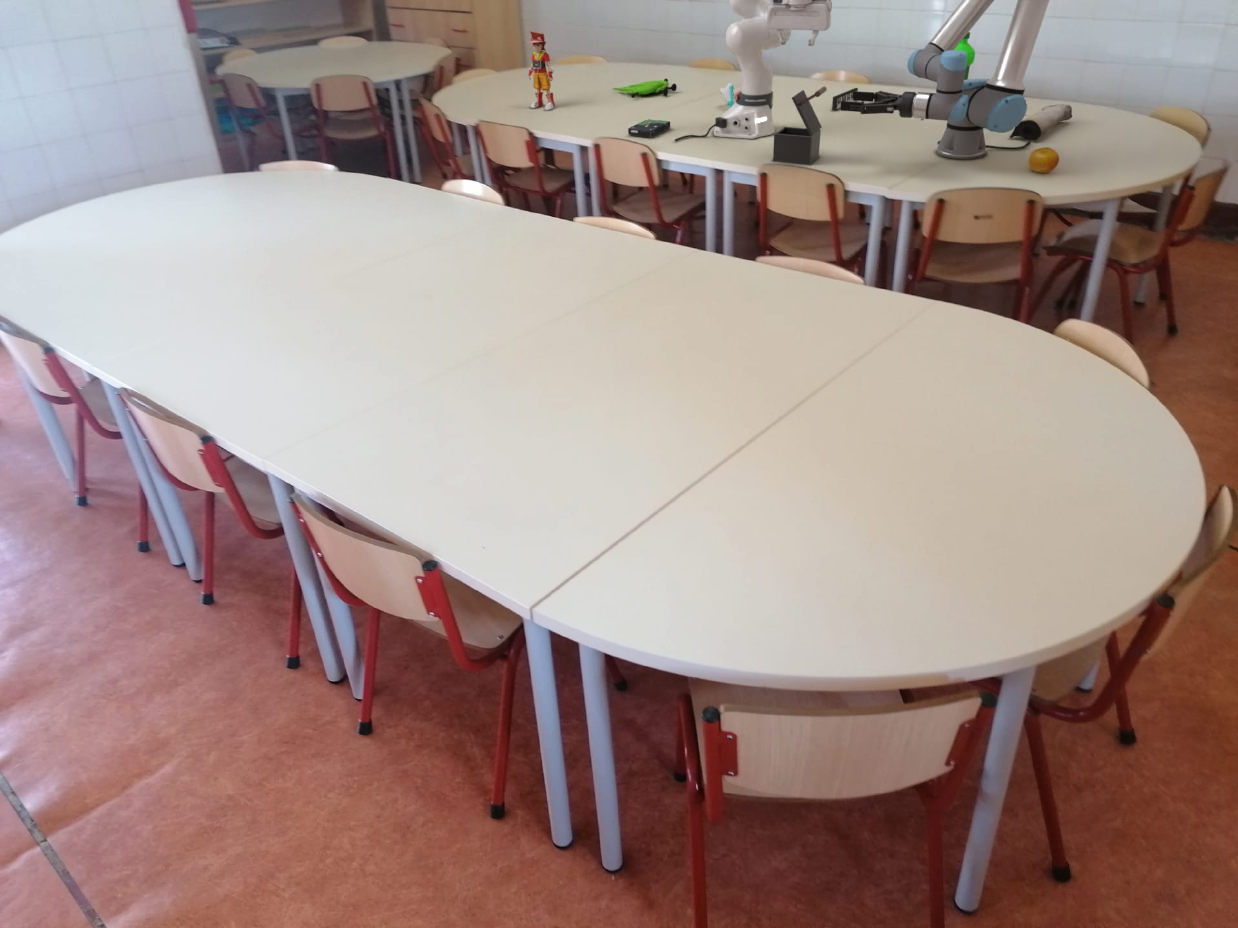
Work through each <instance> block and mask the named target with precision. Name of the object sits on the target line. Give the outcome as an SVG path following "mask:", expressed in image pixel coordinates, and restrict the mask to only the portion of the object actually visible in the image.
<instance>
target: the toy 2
mask: <svg viewBox="0 0 1238 928" xmlns="http://www.w3.org/2000/svg"><path fill="white" fill-rule="evenodd" d="M669 85H670V83H669V79H668V78H664V79H663V80H649V81H644V82H640V83H634V84H629V85H627V86H621V87H613V88H612V89H613V90H616V91H619V92H623V93H627V94H628V93H629V94H631V95H630V96H631V98H632V99H634V98H636V96H637V95H650V94H652V93H654V94H658V93H662V95H663V96H665V97H667V96H668V95H669V90H671V91H672V92H676V91H677V84H676V83H672V84H671V86H669Z"/></svg>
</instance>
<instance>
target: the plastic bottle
mask: <svg viewBox="0 0 1238 928" xmlns="http://www.w3.org/2000/svg"><path fill="white" fill-rule="evenodd" d="M970 36H971V32H970V31H969V32H968V33H967V35H966V36H965V37H964V38H963V39H962V41H961V42H960V43H959V44H958V46H957V47H956V48H955V49H954V50H958V51H964V52H966V53H967V63H966V65H967V67H966V71H965V77H964V80H968V79H969V73H970V67H971V65H972V64H973V63H974V61H975V57H976V51H975V49H974V47H972V45H971V44H970V43H969V42H968V41H969V39H970V38H971V37H970Z"/></svg>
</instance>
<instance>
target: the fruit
mask: <svg viewBox="0 0 1238 928" xmlns="http://www.w3.org/2000/svg"><path fill="white" fill-rule="evenodd" d="M1059 162H1060V156H1059V153H1058V152H1057V151H1056V150H1055V149H1053V148H1052V147H1039V148H1036V149H1034V150H1033V151H1032V152H1031V153H1030V155H1029V157H1028V163H1027V164H1028V167H1029V169H1030V170H1031V171H1032V172H1035V173H1038V174H1040V173H1041V174H1048V173H1051V171H1054V170H1055V168H1057V166H1058V164H1059Z"/></svg>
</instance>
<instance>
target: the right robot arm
mask: <svg viewBox="0 0 1238 928" xmlns="http://www.w3.org/2000/svg"><path fill="white" fill-rule="evenodd" d="M994 1H995V0H961V2H960V3H959V4H958V5H957V7H956V8H955V9H954V10H953V11H952V13H951V14H950V15H949V17H947V19H946V21H945V22H944V23H943V24H942V25H941V27H940V28H939V29H938V30H937V32H936V33H935V34H934V36H933V37H932V38H931V39H930V40H929V42H928V43H927V44H926V45H925V47H924V48H923V49H922V48H921V49H917V50H915V51H913V52H912V53H911V54H910V55H909V57H908V59H907V63H906V65H907V70H908V73H910V74H911V75H913V76H915V77H916V78H919V79H925V80H929V81H931V82H934V83H936V89H935V92H925V91H918V92H916V91H903V93H902V94H898V93H892V92H887V91H883V90H878V91H875V92H873V91H860V90H859V91H854V94H853V101H855V102H849V101H841V107H840V108H839V111H842V112H856V113H860V115H874V114H876V115H877V114H891V115H892V114H894V112H895V111H898V116H899V117H900V118H904V119H905V118H906V119H911V118H914V119H920V121H924V120H934V121H935V120H936V121H946V127H945V130H944V133H943V134H942V136H941V139H939V140H938V141H937V143H936V144H937V149H936V153H937V154H938V155H939V156H940V157H943V158H947V159H953V160H974V159H980V158H982V157H984V156H985V155H986V150H987V149H995V150H1010V151H1011V150H1013V151H1015V150H1022V149H1025V148H1027V147H1028V146H1029V145H1031V142H1032V141H1028V142H1026V144H1024V145H1021V146H1014V147H1013V146H998V145H997V146H996V145H988V144H986V139H985V132H984V129H986V130H988V131H990V132H993V133H998V134H1004V133H1008V132H1010V131H1013V130H1014V128H1015V127H1016V126H1018V124H1019V123H1020V122H1021V121H1023V120H1024V119H1025V118H1024V117H1025V116H1026V113H1027V111H1028V109H1027V108H1028V103H1027V100H1026V98H1025V97H1024V94H1025V91H1026V87H1025V85H1024V82H1023V80H1024V77H1025V75H1026V72H1027V69H1028V66H1029V63H1030V60H1031V56H1032V53H1033V51H1034V48H1035V45H1036V42H1037V39H1038V36H1039V33H1040V29H1041V26H1042V24H1043V21H1044V18H1045V16H1046V12H1047V9H1048V6H1049V4H1050V0H1017V2H1016V5H1015V8H1014V10H1013V14H1012V17H1011V21H1010V24H1009V27H1008V30H1007V33H1006V36H1005V40H1004V43H1003V45H1002V49H1001V51H1000V54H999V58H998V62H997V65H996V67H995V71H994V74H993V76H992V77H991V78H968V80H964V77H965V71H966V67H967V65H966V63H967V53H966V52H964V51H958V50H954V49H955V48H956V47H957V46H958V44H959V43H960V42H961V41H962V39H963V38H964V37H965V36H966V35H967V33H968V32H970V31H971V29H973V28H974V26H975V25H976V24H977V22H978V21H979V20H980V19H981V17H982V16H983V15H984V13H985V12H986V11H987V10H988V9H989V8H990V6H991V5H992V4H993V3H994Z"/></svg>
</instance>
